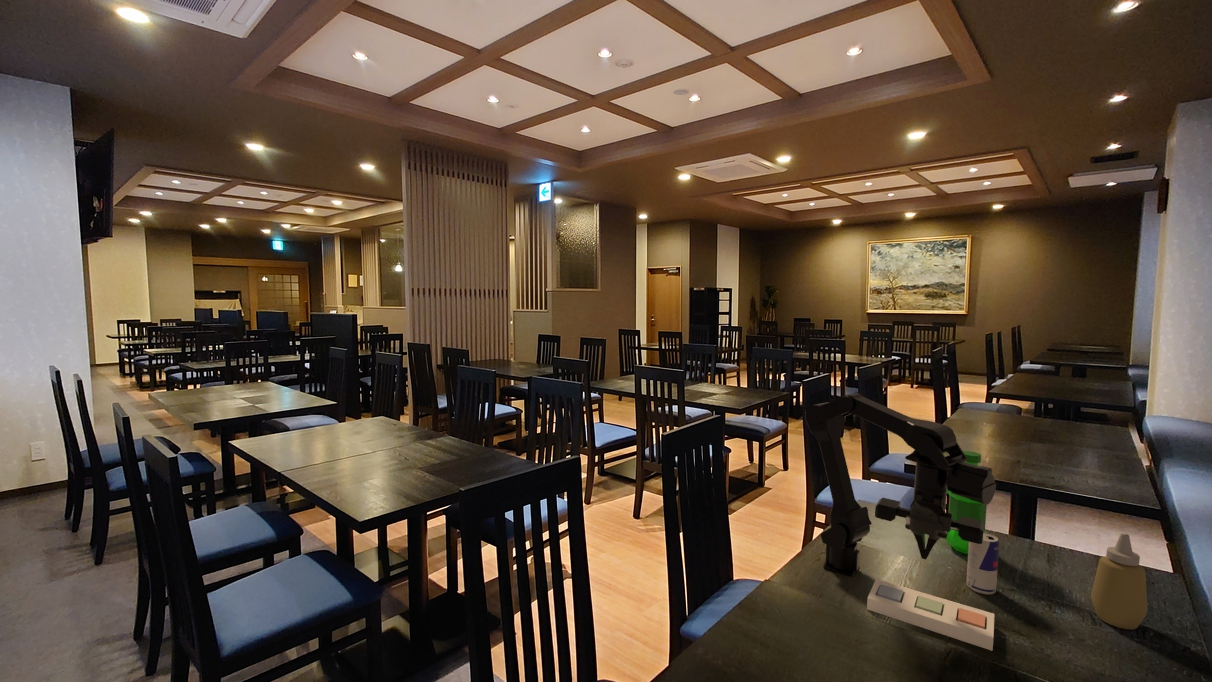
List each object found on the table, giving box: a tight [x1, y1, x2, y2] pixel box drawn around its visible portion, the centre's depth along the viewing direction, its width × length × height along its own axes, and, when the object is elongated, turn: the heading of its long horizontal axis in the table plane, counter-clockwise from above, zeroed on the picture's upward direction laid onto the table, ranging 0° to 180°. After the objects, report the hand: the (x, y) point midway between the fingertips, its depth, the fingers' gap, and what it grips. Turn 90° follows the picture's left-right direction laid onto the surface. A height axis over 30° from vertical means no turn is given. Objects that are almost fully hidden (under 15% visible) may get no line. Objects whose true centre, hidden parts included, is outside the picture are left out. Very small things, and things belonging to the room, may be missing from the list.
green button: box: [916, 596, 943, 616], centre depth 106 cm, size 4×4×2 cm
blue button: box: [877, 584, 903, 603], centre depth 110 cm, size 4×4×2 cm
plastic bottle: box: [944, 450, 988, 555], centre depth 133 cm, size 10×10×25 cm
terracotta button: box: [958, 608, 985, 629], centre depth 102 cm, size 4×4×2 cm
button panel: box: [866, 578, 995, 652], centre depth 106 cm, size 21×9×2 cm, turn 53°
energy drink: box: [965, 531, 1000, 596], centre depth 116 cm, size 5×5×12 cm
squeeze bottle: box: [1090, 532, 1148, 631], centre depth 104 cm, size 8×8×18 cm
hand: (924, 558), depth 109 cm, fingers closed
